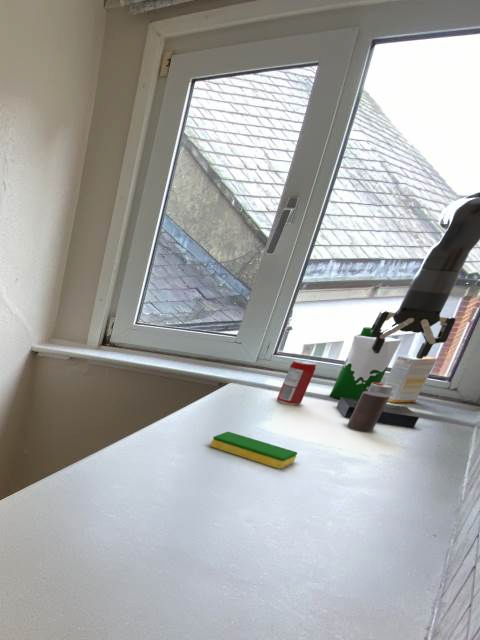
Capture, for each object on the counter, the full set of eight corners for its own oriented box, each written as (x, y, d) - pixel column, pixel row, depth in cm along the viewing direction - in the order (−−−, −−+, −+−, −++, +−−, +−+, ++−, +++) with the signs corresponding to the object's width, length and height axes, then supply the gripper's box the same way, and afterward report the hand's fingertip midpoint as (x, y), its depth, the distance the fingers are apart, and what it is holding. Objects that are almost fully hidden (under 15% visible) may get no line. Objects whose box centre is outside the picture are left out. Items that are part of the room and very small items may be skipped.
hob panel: (401, 417, 148) (407, 406, 146) (413, 428, 140) (419, 416, 138) (336, 407, 154) (341, 396, 152) (344, 417, 146) (349, 406, 144)
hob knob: (381, 404, 147) (391, 383, 145) (385, 408, 144) (396, 387, 141) (360, 401, 149) (370, 380, 147) (364, 405, 146) (374, 384, 143)
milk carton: (340, 392, 168) (371, 326, 159) (376, 401, 160) (410, 332, 151) (324, 395, 164) (354, 327, 155) (359, 404, 157) (393, 334, 148)
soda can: (301, 402, 156) (319, 361, 151) (298, 406, 153) (316, 364, 147) (277, 398, 160) (294, 357, 154) (274, 401, 156) (291, 360, 151)
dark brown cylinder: (369, 427, 139) (386, 393, 135) (374, 433, 135) (392, 398, 131) (344, 423, 141) (360, 389, 137) (349, 429, 137) (365, 394, 133)
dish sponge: (279, 469, 113) (284, 458, 112) (209, 446, 123) (213, 436, 122) (293, 462, 116) (298, 452, 115) (224, 440, 127) (228, 431, 126)
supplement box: (398, 397, 165) (420, 354, 159) (415, 402, 161) (439, 358, 155) (375, 397, 164) (397, 354, 158) (392, 403, 160) (415, 358, 154)
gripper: (396, 287, 134) (365, 354, 141) (476, 294, 127) (439, 363, 135) (387, 285, 139) (358, 348, 147) (463, 291, 133) (428, 357, 140)
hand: (397, 355), depth 141 cm, fingers open, 8 cm apart
